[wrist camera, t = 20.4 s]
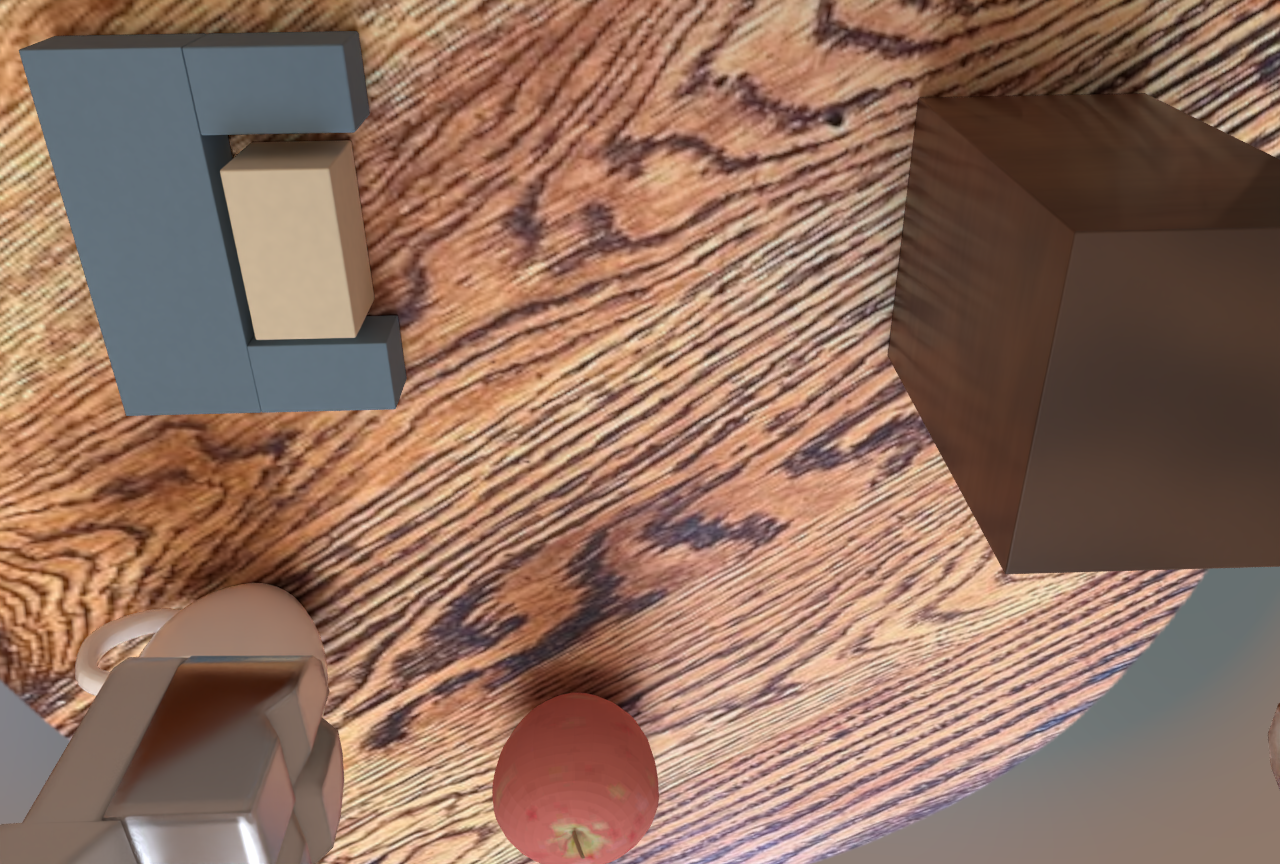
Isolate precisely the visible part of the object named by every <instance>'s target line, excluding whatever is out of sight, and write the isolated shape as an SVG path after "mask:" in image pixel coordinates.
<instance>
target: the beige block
mask: <svg viewBox="0 0 1280 864" xmlns="http://www.w3.org/2000/svg"><path fill="white" fill-rule="evenodd" d="M220 174H221V179H222V184H223V188H224V193H225V198H226V202H227V207H228V212H229V216H230V221H231V226H232V230H233V235H234V240H235V245H236V249H237V254H238V259H239V263H240V268H241V273H242V277H243V282H244V287H245V291H246V296H247V301H248V305H249V310H250V315H251V319H252V324H253V329H254V333H255V338H256V340H274V339H319V338H355V337H356V336H357V334H358V332H359V330H360V328H361V326H362V323H363V321H364V319H365V317H366V315H367V313H368V311H369V309H370V307H371V305H372V303H373V301H374V291H373V285H372V278H371V271H370V264H369V258H368V251H367V244H366V237H365V231H364V224H363V217H362V210H361V204H360V197H359V190H358V183H357V177H356V170H355V163H354V156H353V150H352V143H351V141H349V140H344V141H290V142H252V143H250V144H249V145H248V146H247V147H246V148H245V149H243V150H242V151H241V152H240V153H239V154H238V155H237V156H236V157H234V158H233V159H232V160H231V161H230V162H229V163H228V164H227V165H225V166H224V167H223V168H222V169H221V170H220Z"/></svg>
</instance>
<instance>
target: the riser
mask: <svg viewBox="0 0 1280 864" xmlns="http://www.w3.org/2000/svg"><path fill="white" fill-rule="evenodd" d="M888 357H889V359H890V361H891V363H892V364H893V366H894V368H895V370H896V372H897V374H898V376H899V377H900V379H901V381H902V383H903V385H904V387H905V389H906V390H907V392H908V394H909V396H910V398H911V400H912V402H913V403H914V405H915V407H916V409H917V411H918V413H919V415H920V416H921V418H922V420H923V422H924V424H925V426H926V428H927V429H928V431H929V433H930V435H931V437H932V439H933V441H934V442H935V444H936V446H937V448H938V450H939V452H940V454H941V455H942V457H943V459H944V461H945V463H946V465H947V467H948V468H949V470H950V472H951V474H952V476H953V478H954V480H955V481H956V483H957V485H958V487H959V489H960V491H961V493H962V494H963V496H964V498H965V500H966V502H967V504H968V506H969V507H970V509H971V511H972V513H973V515H974V517H975V519H976V520H977V522H978V524H979V526H980V528H981V530H982V532H983V533H984V535H985V537H986V539H987V541H988V543H989V545H990V546H991V548H992V550H993V552H994V554H995V556H996V558H997V559H998V561H999V563H1000V565H1001V567H1002V569H1003V571H1004V572H1005V574H1029V573H1064V572H1100V571H1135V570H1170V569H1206V568H1240V567H1277V566H1280V159H1277V158H1275V157H1273V156H1271V155H1269V154H1267V153H1265V152H1263V151H1261V150H1259V149H1257V148H1255V147H1253V146H1251V145H1249V144H1247V143H1245V142H1243V141H1241V140H1239V139H1237V138H1235V137H1233V136H1231V135H1229V134H1227V133H1225V132H1223V131H1220V130H1218V129H1216V128H1214V127H1212V126H1210V125H1208V124H1206V123H1204V122H1202V121H1200V120H1198V119H1196V118H1194V117H1192V116H1190V115H1188V114H1186V113H1184V112H1182V111H1180V110H1178V109H1176V108H1174V107H1172V106H1170V105H1168V104H1166V103H1163V102H1161V101H1159V100H1157V99H1155V98H1153V97H1151V96H1149V95H1147V94H1145V93H1135V94H1081V95H1027V96H974V97H920V98H919V99H918V106H917V115H916V123H915V132H914V140H913V149H912V157H911V165H910V174H909V182H908V191H907V199H906V208H905V216H904V224H903V233H902V241H901V250H900V258H899V267H898V275H897V283H896V292H895V300H894V309H893V317H892V325H891V334H890V342H889V351H888Z"/></svg>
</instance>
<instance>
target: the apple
mask: <svg viewBox="0 0 1280 864" xmlns="http://www.w3.org/2000/svg"><path fill="white" fill-rule="evenodd" d="M492 791H493V805H494V812H495V816H496V820H497V822H498V824H499V826H500V827H501V829H502V831H503V832H504V834H505V836H506V837H507V839H508V840H509V841H510V842H511V843H512V844H513V845H514V846H515V847H516V848H517V849H518V850H519V851H520V852H521V853H522V854H524V855H525V856H527V857H529V858H531V859H532V860H534V861H536V862H539V863H542V864H606V863H609V862H612V861H614V860H616V859H618V858H620V857H622V856H623V855H624V854H625V853H627V852H628V851H629V850H630V849H632V848H633V847H634V846H635V845H636V844H637V843H638V842H639V841H640V840H641V838H642V837H643V836H644V835H645V833H646V832H647V831H648V829H649V828H650V826H651V824H652V821H653V819H654V816H655V813H656V810H657V807H658V800H659V792H658V777H657V770H656V765H655V761H654V757H653V754H652V751H651V748H650V745H649V742H648V739H647V738H646V736H645V735H644V733H643V732H642V730H641V728H640V727H639V725H638V724H637V722H636V721H635V720H634V719H633V717H632V716H631V715H629V714H628V713H627V712H626V711H624V710H623V709H622V708H620V707H619V706H617V705H616V704H615V703H613V702H611V701H608V700H606V699H603V698H601V697H598V696H596V695H592V694H587V693H568V694H562V695H559V696H556V697H554V698H552V699H549V700H547V701H545V702H544V703H542V704H540V705H539V706H537V707H535V708H534V709H533V710H532V711H531V712H529V713H528V714H527V715H526V716H525V717H524V718H523V719H522V721H521V722H520V723H519V724H518V725H517V727H516V728H515V730H514V731H513V733H512V734H511V736H510V737H509V739H508V740H507V742H506V744H505V745H504V747H503V749H502V751H501V754H500V757H499V761H498V764H497V767H496V771H495V775H494V780H493V790H492Z"/></svg>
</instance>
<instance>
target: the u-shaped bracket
mask: <svg viewBox="0 0 1280 864" xmlns="http://www.w3.org/2000/svg"><path fill="white" fill-rule="evenodd" d="M19 53H20V56H21V60H22V63H23V66H24V70H25V73H26V77H27V80H28V83H29V87H30V90H31V94H32V97H33V100H34V104H35V107H36V111H37V114H38V117H39V121H40V124H41V128H42V131H43V134H44V138H45V141H46V145H47V148H48V151H49V155H50V158H51V162H52V165H53V168H54V172H55V175H56V179H57V182H58V185H59V189H60V192H61V196H62V199H63V202H64V206H65V209H66V213H67V216H68V219H69V223H70V226H71V230H72V233H73V236H74V240H75V243H76V247H77V250H78V253H79V257H80V260H81V264H82V267H83V270H84V274H85V277H86V281H87V284H88V287H89V291H90V294H91V298H92V301H93V304H94V308H95V311H96V314H97V318H98V321H99V325H100V328H101V331H102V335H103V338H104V342H105V345H106V348H107V352H108V355H109V359H110V362H111V365H112V369H113V372H114V376H115V379H116V382H117V386H118V389H119V393H120V396H121V399H122V403H123V406H124V410H125V413H126V416H139V415H179V414H220V413H260V412H261V411H262V412H301V411H341V410H382V409H396V407H397V404H398V401H399V398H400V395H401V393H402V390H403V387H404V384H405V381H406V372H405V364H404V357H403V350H402V343H401V335H400V328H399V321H398V316H366V317H365V319H364V321H363V323H362V326H361V328H360V330H359V332H358V334H357V336H356V337H355V338H319V339H274V340H256V338H255V333H254V329H253V324H252V319H251V315H250V310H249V305H248V301H247V296H246V291H245V287H244V282H243V277H242V273H241V268H240V263H239V259H238V254H237V249H236V245H235V240H234V235H233V230H232V226H231V221H230V216H229V212H228V207H227V202H226V198H225V193H224V188H223V184H222V179H221V174H220V170H221V169H222V168H223V167H224V166H225V165H227V164H228V163H229V162H230V161H231V160H232V154H231V149H230V144H229V140H228V135H247V134H299V133H351V132H355V131H356V130H357V129H358V128H359V126H360V125H361V124H362V123H363V121H364V120H365V119H366V118H367V117H368V115H369V113H370V112H369V105H368V98H367V91H366V83H365V76H364V69H363V62H362V54H361V47H360V40H359V34H358V32H357V31H330V32H271V33H213V34H205V33H203V34H145V35H87V36H54V37H51V38H49V39H46V40H44V41H41V42H38V43H36V44H33V45H31V46H28V47H25V48H23V49H20V50H19Z"/></svg>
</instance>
